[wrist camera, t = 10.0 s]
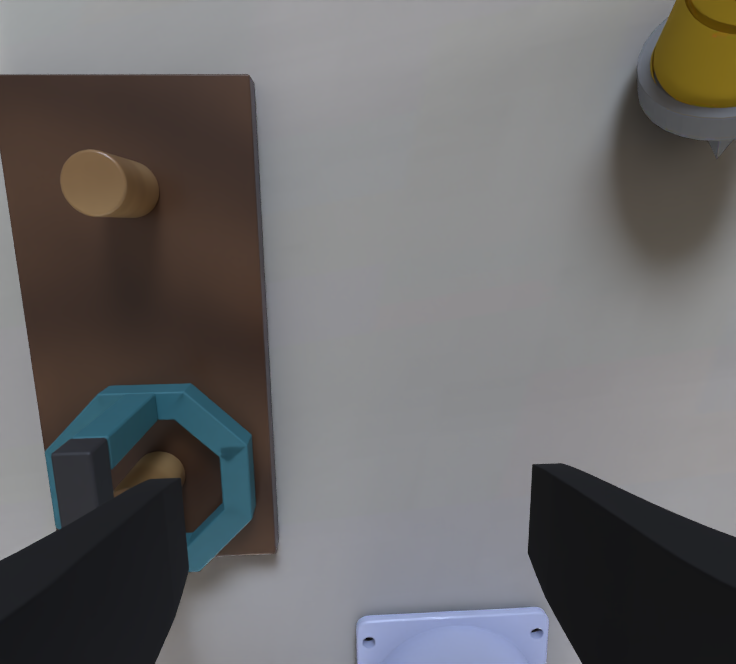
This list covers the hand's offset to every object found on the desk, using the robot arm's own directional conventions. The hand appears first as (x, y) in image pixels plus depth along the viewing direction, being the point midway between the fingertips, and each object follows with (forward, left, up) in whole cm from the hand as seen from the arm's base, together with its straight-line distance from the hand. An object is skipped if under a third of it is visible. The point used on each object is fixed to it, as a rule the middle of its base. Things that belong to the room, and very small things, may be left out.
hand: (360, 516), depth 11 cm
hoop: (-3, +7, -8) cm, 11 cm away
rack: (+2, +7, -9) cm, 12 cm away
